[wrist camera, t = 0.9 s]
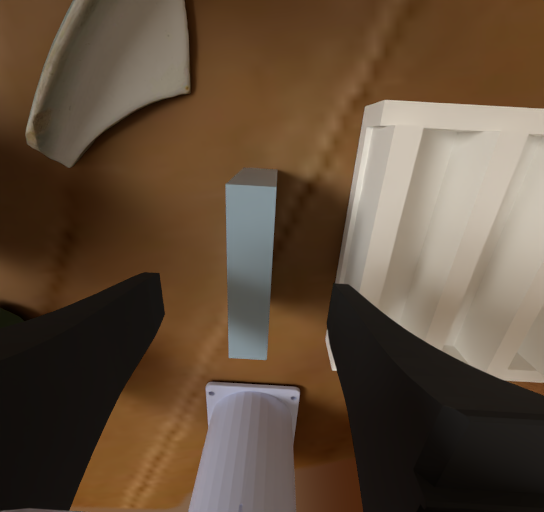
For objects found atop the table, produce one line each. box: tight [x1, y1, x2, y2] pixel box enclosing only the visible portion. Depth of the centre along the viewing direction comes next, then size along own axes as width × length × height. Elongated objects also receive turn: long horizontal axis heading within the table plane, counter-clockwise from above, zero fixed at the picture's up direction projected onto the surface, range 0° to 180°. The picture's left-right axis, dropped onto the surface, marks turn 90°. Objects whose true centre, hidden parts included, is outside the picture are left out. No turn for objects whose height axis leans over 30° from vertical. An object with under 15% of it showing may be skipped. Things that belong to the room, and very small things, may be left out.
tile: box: [226, 168, 277, 360], centre depth 15 cm, size 9×2×6 cm, turn 177°
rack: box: [325, 100, 544, 383], centre depth 16 cm, size 16×15×4 cm
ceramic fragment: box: [25, 0, 191, 168], centre depth 13 cm, size 14×5×4 cm, turn 137°
